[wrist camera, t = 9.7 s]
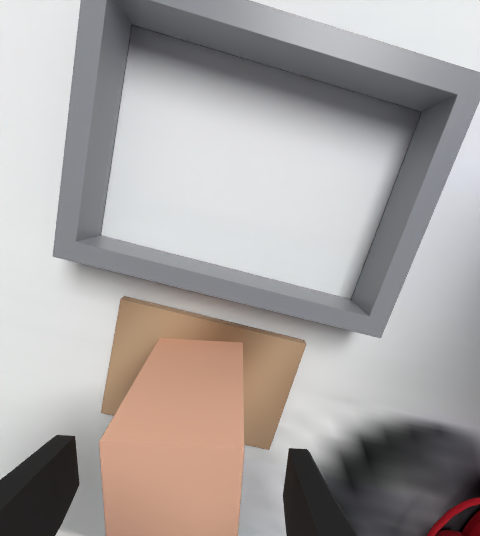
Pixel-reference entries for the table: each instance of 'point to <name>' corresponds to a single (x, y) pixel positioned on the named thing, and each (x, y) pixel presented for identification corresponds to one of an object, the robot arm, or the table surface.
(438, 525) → the alarm clock
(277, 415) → the walnut pad
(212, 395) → the block
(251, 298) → the gray rectangular frame
